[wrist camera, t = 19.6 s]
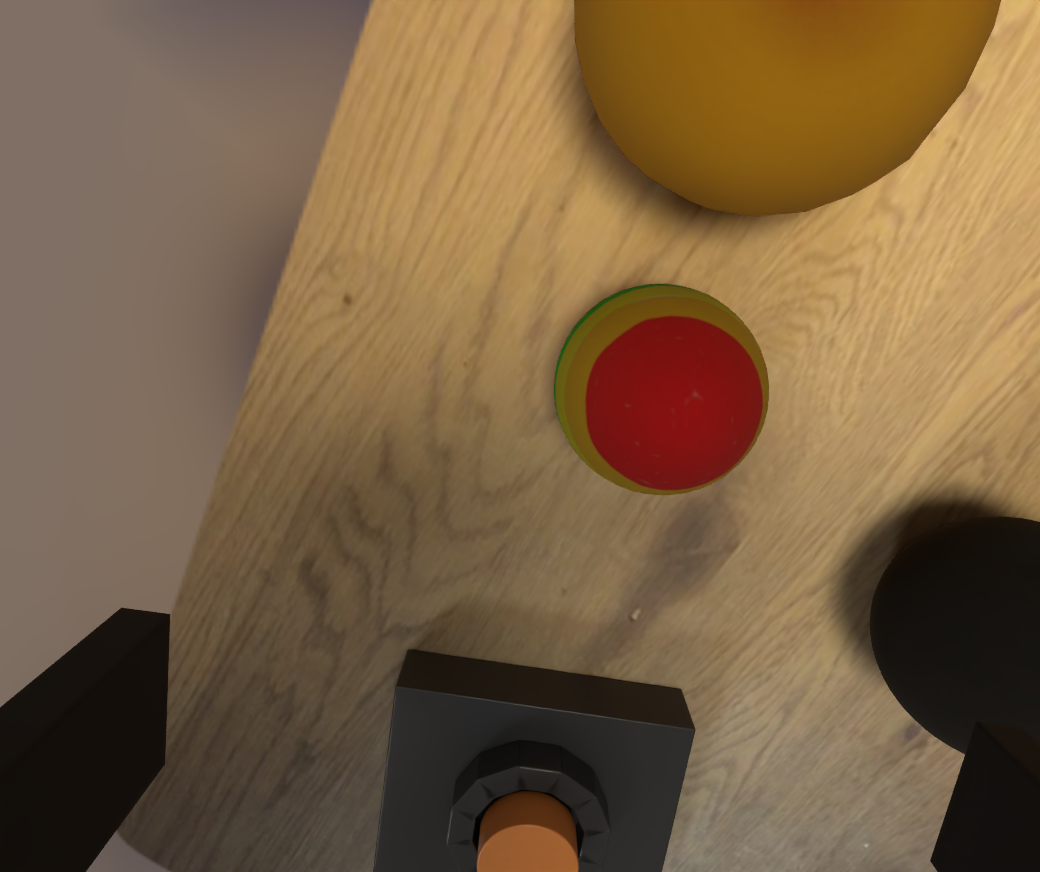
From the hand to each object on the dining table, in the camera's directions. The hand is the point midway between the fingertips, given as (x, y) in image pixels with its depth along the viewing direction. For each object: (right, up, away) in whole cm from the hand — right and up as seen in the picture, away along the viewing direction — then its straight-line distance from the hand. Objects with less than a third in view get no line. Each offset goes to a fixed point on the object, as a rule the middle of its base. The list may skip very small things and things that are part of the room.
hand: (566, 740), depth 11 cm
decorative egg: (+5, +8, +20) cm, 22 cm away
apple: (+8, +20, +17) cm, 28 cm away
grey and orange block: (0, -12, +25) cm, 28 cm away
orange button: (0, -13, +21) cm, 24 cm away
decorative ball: (+19, -2, +22) cm, 30 cm away
